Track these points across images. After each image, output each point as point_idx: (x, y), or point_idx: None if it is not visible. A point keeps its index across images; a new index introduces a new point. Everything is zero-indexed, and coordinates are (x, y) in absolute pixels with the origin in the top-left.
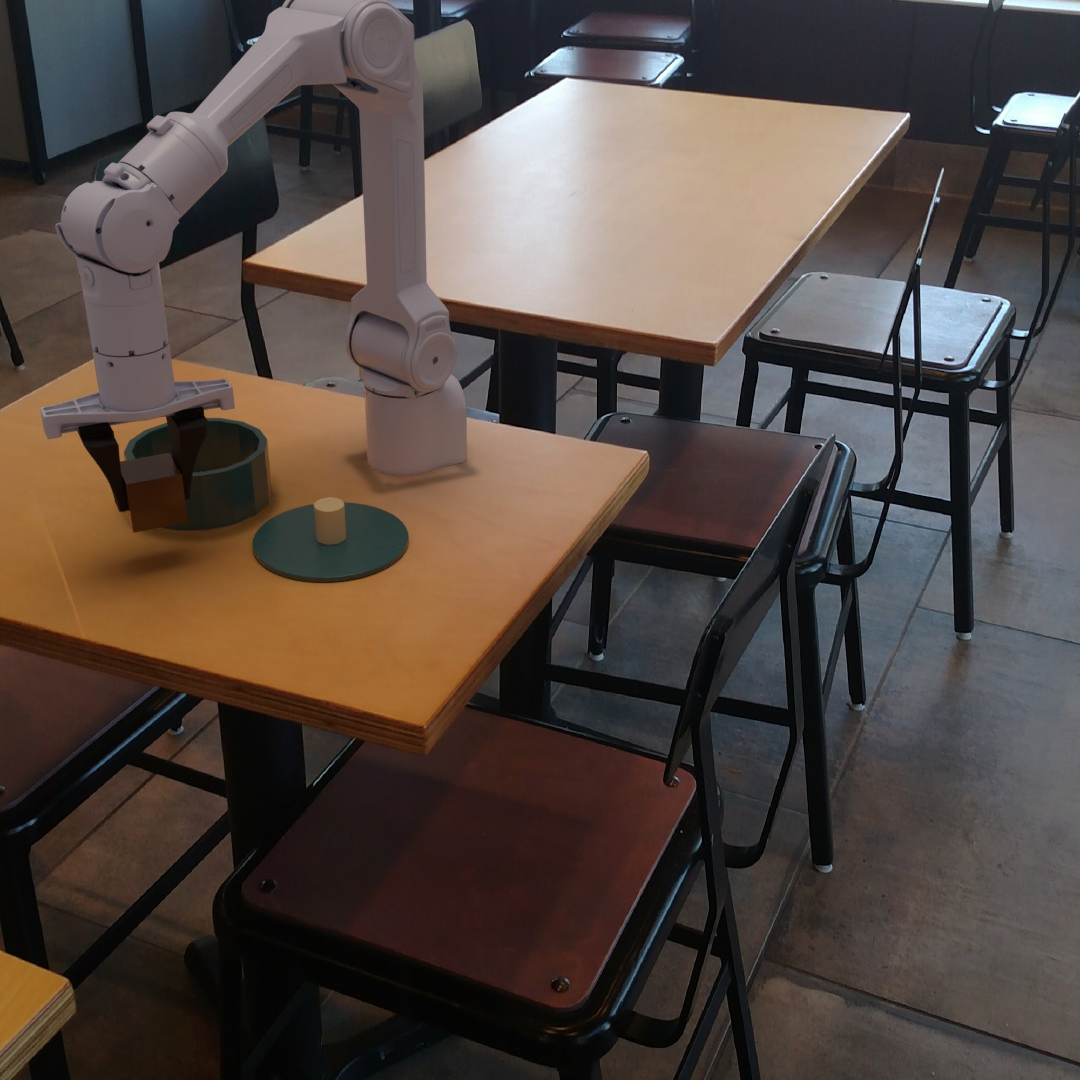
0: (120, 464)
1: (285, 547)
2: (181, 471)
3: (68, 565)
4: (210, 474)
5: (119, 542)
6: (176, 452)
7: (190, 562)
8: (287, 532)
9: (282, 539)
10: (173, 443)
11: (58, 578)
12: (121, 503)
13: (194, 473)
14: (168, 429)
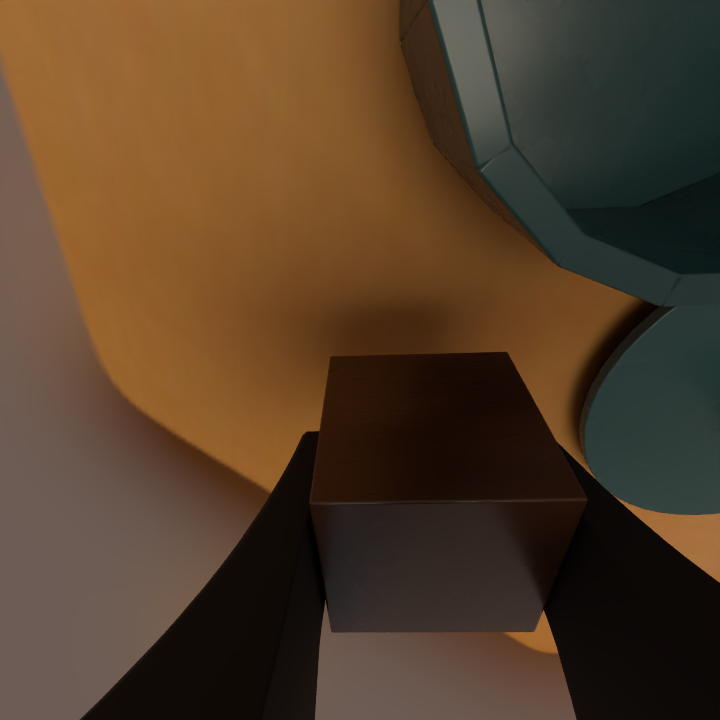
0: (331, 528)
1: (657, 408)
2: (545, 612)
3: (194, 237)
4: (706, 304)
5: (326, 157)
6: (589, 643)
7: (464, 326)
8: (709, 354)
9: (676, 378)
10: (618, 653)
11: (178, 289)
12: None
13: (656, 280)
14: (686, 670)
